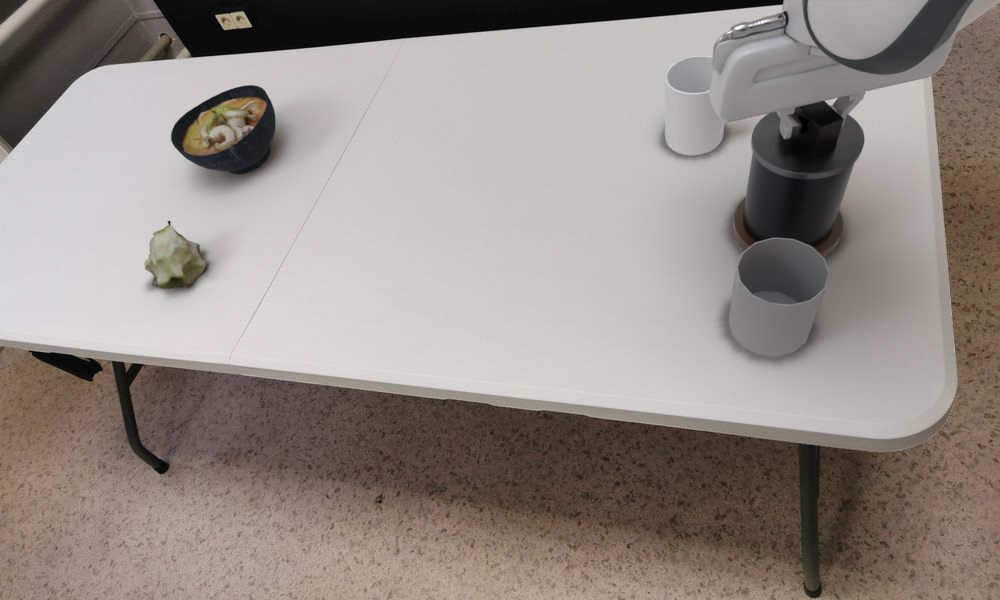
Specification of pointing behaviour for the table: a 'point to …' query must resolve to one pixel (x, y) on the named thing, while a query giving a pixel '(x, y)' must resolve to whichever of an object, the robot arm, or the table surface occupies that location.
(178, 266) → the fruit
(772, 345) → the cup
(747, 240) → the disc
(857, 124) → the bin
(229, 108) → the bowl
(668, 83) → the mug
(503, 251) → the table surface
